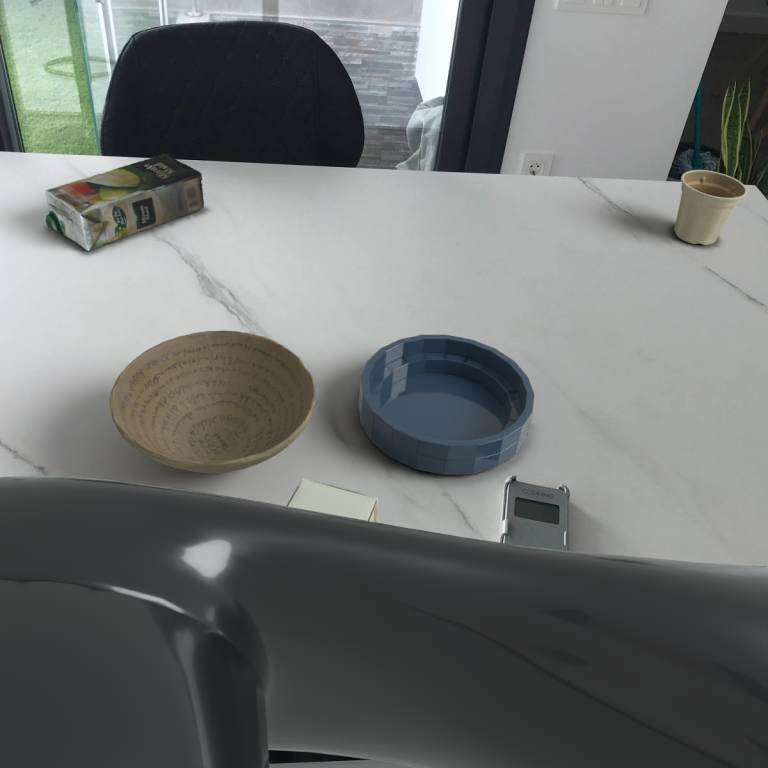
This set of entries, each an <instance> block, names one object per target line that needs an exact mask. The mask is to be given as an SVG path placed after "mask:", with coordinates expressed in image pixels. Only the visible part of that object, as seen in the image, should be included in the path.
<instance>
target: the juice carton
mask: <svg viewBox="0 0 768 768" xmlns="http://www.w3.org/2000/svg"><path fill="white" fill-rule="evenodd" d="M202 182H203V175H202V172H201V171H200V170H197V169H195V168H193V167H191V166H190V165H187V164H186V163H183V162H181V161H180V160H178V159H176V158H174V157H172V156H170V155H169V154H166V153H161V154H158V155H156V156H152V157H150V158H147V159H144V160H139V161H137V162H132V163H129V164H125V165H123V166H120V167H117V168H113V169H111V170H108V171H105V172H102V173H97V174H94V175H92V176H89V177H86V178H82V179H81V178H80V179H78V180H75V181H72V182H68V183H65V184H61V185H59V186H55V187H53V188H49V189H46V190H45V197H46V205H47V208H48V214H47V215H45V224H46V226H47V227H48V228H49V229H53V230H55V232H58V233H60V234H62V235H64V236H65V237H66V238H68V239H70V240H71V241H73V242H75V243H76V244H78V245H79V246H81V247H82V248H83V249H84V250H85V251H88V252H90V251H93V250H96V249H99V248H101V247H102V246H103V245H107V244H110V243H113V242H116V241H118V240H120V239H123V238H125V237H128V236H131V235H133V234H137V233H139V232H142V231H145V230H149V229H152V228H155V227H158V226H161V225H163V224H166V223H169V222H172V221H173V220H177V219H180V218H183V217H186V216H190V215H192V214H194V213H198V212H200V211H202V209H204V207H205V200H204V190H203V183H202Z"/></svg>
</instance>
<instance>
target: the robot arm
mask: <svg viewBox="0 0 768 768" xmlns="http://www.w3.org/2000/svg"><path fill="white" fill-rule="evenodd" d="M269 751H285V752H286V751H287V752H303V753H315V754H323V755H324V754H325V755H332V756H338V757H339V756H340V757H349V758H356V759H362V760H363V759H364V760H373V761H380V762H387V763H388V762H389V763H394V764H399V765H403V766H407V767H412V768H768V565H745V564H729V563H715V562H714V563H713V562H700V561H699V562H697V561H686V560H678V559H677V560H676V559H663V558H655V557H654V558H653V557H643V556H633V555H621V554H613V553H612V554H609V553H599V552H588V551H587V552H586V551H576V550H575V551H574V550H566V549H565V550H564V549H557V548H556V549H555V548H549V547H548V548H546V547H539V546H529V545H522V544H513V543H506V542H499V541H492V540H486V539H478V538H474V537H473V538H471V537H465V536H458V535H453V534H447V533H441V532H434V531H428V530H422V529H416V528H409V527H405V526H399V525H395V524H394V525H393V524H388V523H381V522H378V521H377V522H371V521H365V520H360V519H354V518H349V517H343V516H337V515H332V514H326V513H321V512H315V511H309V510H304V509H298V508H293V507H287V506H285V505H281V504H275V503H270V502H266V501H265V502H264V501H259V500H252V499H246V498H240V497H234V496H229V495H222V494H217V493H211V492H204V491H198V490H193V489H188V488H187V489H186V488H181V487H173V486H163V485H157V484H156V485H155V484H149V483H148V484H146V483H138V482H131V481H123V480H122V481H121V480H114V479H107V478H106V479H105V478H95V477H83V476H63V475H42V474H41V475H39V474H37V475H17V476H16V475H15V476H0V768H270V754H269Z"/></svg>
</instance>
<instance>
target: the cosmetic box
mask: <svg viewBox="0 0 768 768" xmlns="http://www.w3.org/2000/svg"><path fill="white" fill-rule="evenodd" d="M284 506H287V507H293V508H298V509H304V510H309V511H315V512H321V513H326V514H332V515H337V516H343V517H349V518H354V519H360V520H365V521H371V522H377V523H378V514H379V513H378V512H379V511H378V510H379V499H378V497H376V496H372V495H369V494H366V493H363V492H359V491H355V490H351V489H349V488H345V487H341V486H336V485H333V484H329V483H325V482H321V481H318V480H313V479H310V478H305V477H303V478H301V479H300V481H299V482H298V484H297V486H296V487H295V489H294V490H293V492H292V494H291V495H290V497H289V499H288V500H287V501H286V504H285V505H284Z"/></svg>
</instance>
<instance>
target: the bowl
mask: <svg viewBox="0 0 768 768" xmlns="http://www.w3.org/2000/svg"><path fill="white" fill-rule="evenodd" d="M109 396H110V397H109V408H110V414H111V418H112V422H113V424H114V425H115V428H116V429H117V431H118V432H119V434H120V436H121V437H123V439H124V440H125V441H126V442H127V443H128V444H130V445H131V446H132V447H133V448H135V449H136V450H137V451H139V452H140V453H142V454H143V455H144V456H146V457H148V458H150V459H151V460H153V461H156V462H158V463H159V464H162V465H165V466H168V467H171V468H175V469H179V470H183V471H188V472H194V473H203V474H224V473H230V472H237V471H240V470H245V469H248V468H251V467H255V466H257V465H260V464H262V463H264V462H266V461H268V460H270V459H272V458H274V457H275V456H278V455H279V454H280V453H282V452H284V451H285V449H287V448H288V447H289V446H290V445H291V444H292V443H293V442H294V441H295V440H296V439H297V438H298V437H299V436H300V435H301V433H302V432H304V430H305V429H306V427H307V425H308V424H309V423H310V420H311V418H312V416H313V412H314V410H315V406H316V400H317V389H316V385H315V381H314V378H313V375H312V373H311V371H310V370H309V368H307V367H306V366H305V364H304V362H303V360H302V359H301V358H300V357H299V356H298V355H297V354H296V353H295V352H293V351H292V350H290V349H288V348H287V347H286V346H284V345H283V344H281V343H280V342H277V341H276V340H273V339H271V338H268V337H266V336H263V335H259V334H253V333H250V332H244V331H243V332H242V331H238V330H223V329H222V330H205V331H198V332H192V333H189V334H185V335H180V336H177V337H173V338H171V339H167V340H164V341H162V342H160V343H158V344H156V345H154V346H152V347H149V348H148V349H146V350H145V351H143V352H142V353H141V354H140V355H138V356H136V357H135V358H134V359H133V360H132V361H131V362H130V363H128V364H127V365H126V367H125V368H124V369H123V370H122V371H121V372H120V374H119V375H118V377H117V378H116V380H115V381H114V383H113V386H112V387H111V392H110V395H109Z"/></svg>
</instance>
